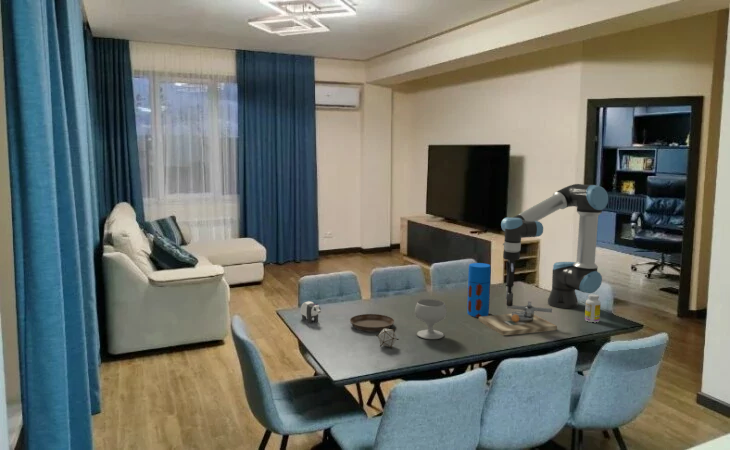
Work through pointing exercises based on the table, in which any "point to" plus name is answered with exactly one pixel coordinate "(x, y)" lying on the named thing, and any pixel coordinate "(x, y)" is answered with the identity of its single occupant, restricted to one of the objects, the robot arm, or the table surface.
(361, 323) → the plant saucer
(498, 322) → the stand base
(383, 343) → the game die
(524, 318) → the grey cross
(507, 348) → the table surface
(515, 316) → the ball
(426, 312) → the chalice
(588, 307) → the supplement bottle
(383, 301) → the table surface
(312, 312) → the giant panda
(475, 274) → the thermos
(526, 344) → the table surface
